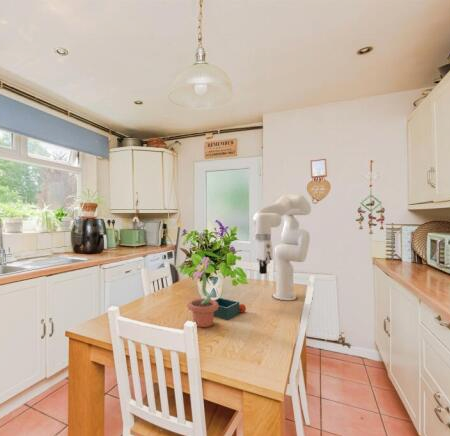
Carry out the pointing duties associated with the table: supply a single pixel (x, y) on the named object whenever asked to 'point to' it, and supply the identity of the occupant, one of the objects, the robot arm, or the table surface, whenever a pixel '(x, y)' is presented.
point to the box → (226, 308)
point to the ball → (242, 308)
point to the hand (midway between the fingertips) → (263, 273)
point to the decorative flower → (203, 307)
